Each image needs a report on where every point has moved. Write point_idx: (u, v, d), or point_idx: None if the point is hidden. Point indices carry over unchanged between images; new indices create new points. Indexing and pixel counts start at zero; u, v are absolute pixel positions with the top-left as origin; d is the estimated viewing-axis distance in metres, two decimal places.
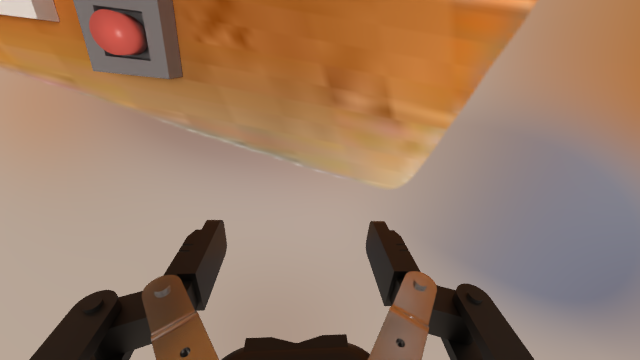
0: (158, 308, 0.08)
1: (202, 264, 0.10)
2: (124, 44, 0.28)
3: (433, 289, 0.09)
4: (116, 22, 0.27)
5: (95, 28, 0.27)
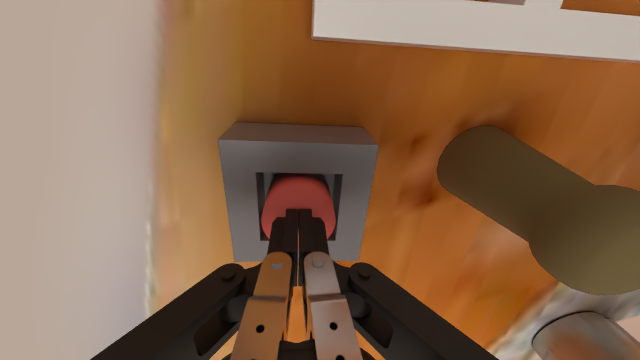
0: (282, 278, 0.09)
1: (297, 245, 0.11)
2: None
3: (328, 267, 0.10)
4: None
5: (303, 199, 0.14)
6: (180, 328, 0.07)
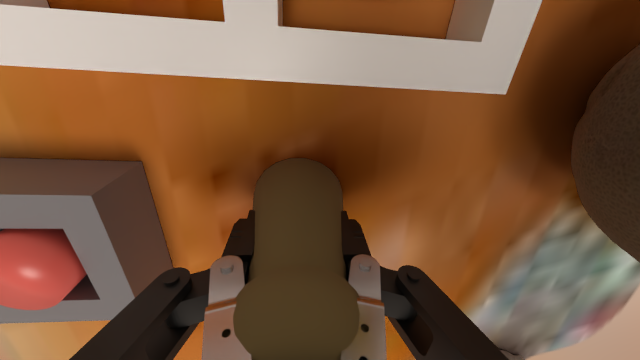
0: (228, 283, 0.09)
1: None
2: (1, 296, 0.12)
3: (376, 270, 0.10)
4: (44, 291, 0.12)
5: (1, 257, 0.11)
6: (129, 343, 0.07)
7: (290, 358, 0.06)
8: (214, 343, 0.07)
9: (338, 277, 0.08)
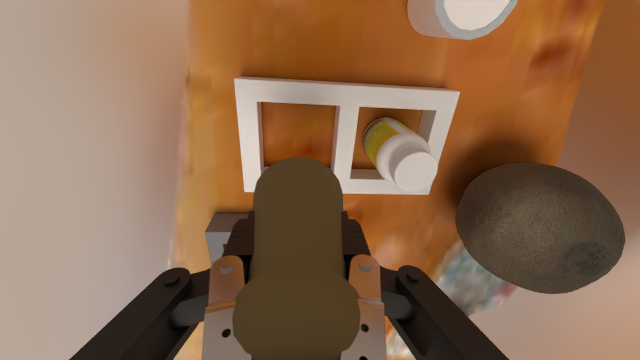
0: (228, 283, 0.09)
1: None
2: None
3: (376, 270, 0.10)
4: None
5: None
6: (129, 343, 0.07)
7: (290, 358, 0.06)
8: (214, 343, 0.07)
9: (338, 277, 0.08)
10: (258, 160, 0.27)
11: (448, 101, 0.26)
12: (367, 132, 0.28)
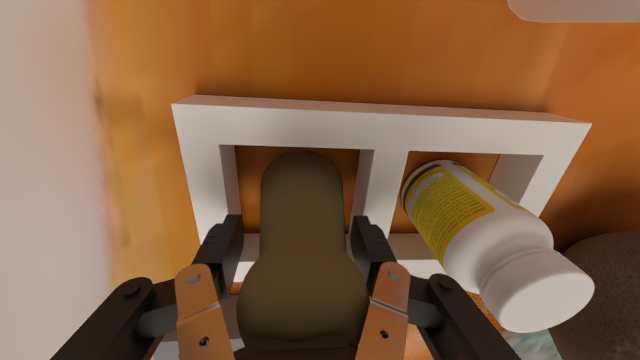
0: (191, 293, 0.08)
1: (226, 255, 0.11)
2: None
3: (406, 278, 0.10)
4: None
5: None
6: None
7: (301, 309, 0.08)
8: (192, 354, 0.06)
9: (340, 250, 0.10)
10: None
11: (568, 139, 0.14)
12: (413, 186, 0.17)
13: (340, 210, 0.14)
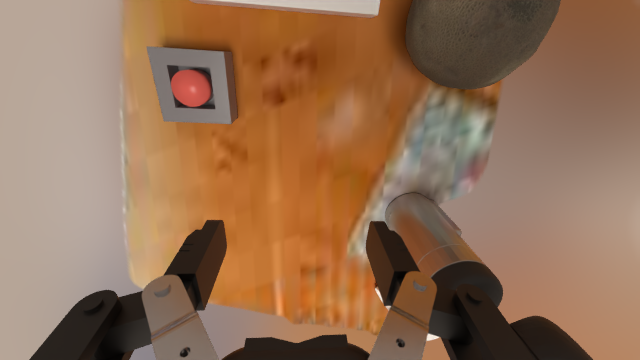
0: (158, 308, 0.08)
1: (202, 264, 0.10)
2: (183, 97, 0.31)
3: (433, 289, 0.09)
4: (199, 95, 0.31)
5: (189, 75, 0.30)
6: None
7: None
8: None
9: None
10: None
11: None
12: None
13: None
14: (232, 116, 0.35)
